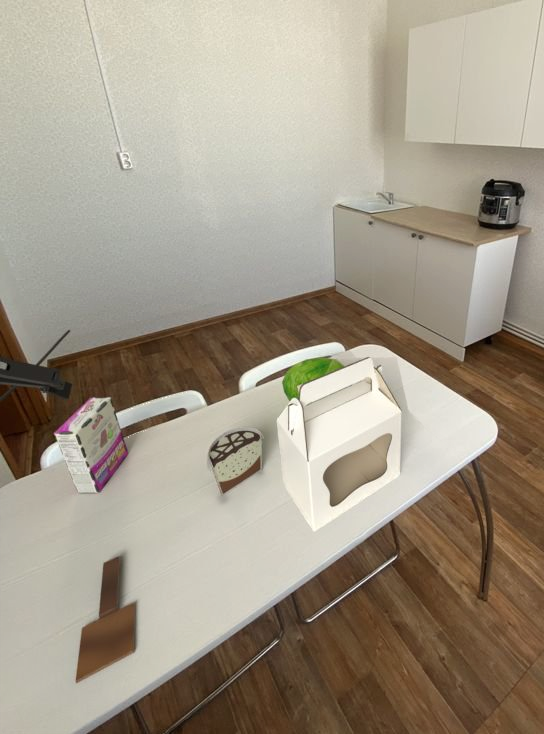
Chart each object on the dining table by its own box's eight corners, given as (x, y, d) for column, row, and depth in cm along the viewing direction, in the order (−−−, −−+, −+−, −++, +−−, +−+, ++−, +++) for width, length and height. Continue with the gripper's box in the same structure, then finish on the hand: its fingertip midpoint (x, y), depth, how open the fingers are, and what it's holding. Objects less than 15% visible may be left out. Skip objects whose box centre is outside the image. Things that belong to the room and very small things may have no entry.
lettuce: (362, 386, 113) (330, 340, 115) (364, 398, 93) (325, 341, 95) (314, 421, 112) (283, 373, 113) (306, 440, 92) (268, 382, 94)
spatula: (89, 574, 66) (87, 569, 65) (135, 554, 69) (134, 549, 68) (76, 683, 52) (73, 678, 52) (134, 652, 55) (132, 647, 55)
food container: (253, 451, 91) (248, 417, 87) (267, 466, 87) (263, 431, 83) (202, 482, 83) (195, 446, 79) (215, 500, 79) (208, 463, 75)
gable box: (365, 439, 94) (364, 339, 84) (401, 475, 84) (404, 365, 74) (282, 485, 82) (269, 374, 72) (312, 533, 72) (302, 412, 62)
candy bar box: (108, 453, 91) (90, 396, 85) (129, 453, 91) (112, 396, 85) (75, 494, 80) (52, 432, 75) (98, 494, 80) (77, 432, 75)
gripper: (-209, 398, 48) (-55, 427, 66) (3, 374, 50) (96, 408, 68) (-175, 342, 52) (-38, 384, 70) (21, 322, 54) (105, 367, 72)
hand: (28, 396), depth 69 cm, fingers open, 13 cm apart
